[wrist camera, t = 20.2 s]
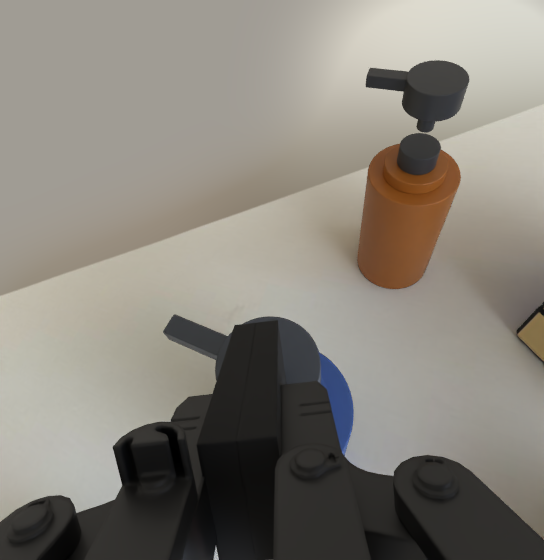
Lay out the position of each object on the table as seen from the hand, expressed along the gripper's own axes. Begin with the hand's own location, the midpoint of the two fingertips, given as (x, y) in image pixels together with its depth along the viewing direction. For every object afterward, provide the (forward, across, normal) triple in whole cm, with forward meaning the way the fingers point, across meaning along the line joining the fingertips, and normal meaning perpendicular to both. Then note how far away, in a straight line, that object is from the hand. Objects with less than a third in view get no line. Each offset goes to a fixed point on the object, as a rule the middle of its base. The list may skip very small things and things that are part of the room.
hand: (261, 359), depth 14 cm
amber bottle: (+28, +12, -3) cm, 30 cm away
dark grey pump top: (+17, +11, +9) cm, 22 cm away
